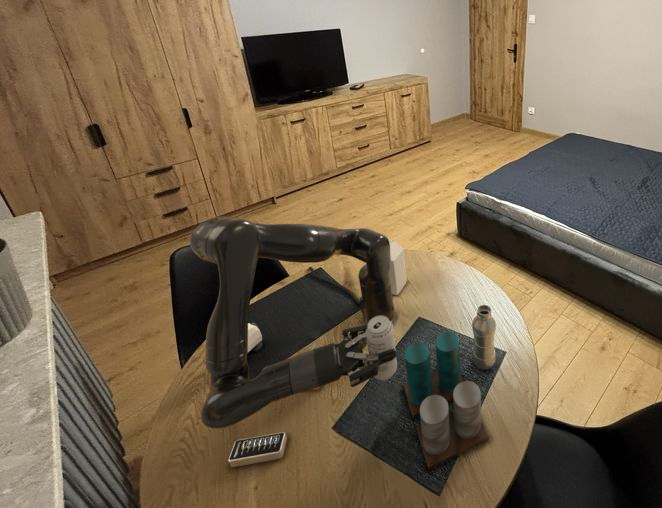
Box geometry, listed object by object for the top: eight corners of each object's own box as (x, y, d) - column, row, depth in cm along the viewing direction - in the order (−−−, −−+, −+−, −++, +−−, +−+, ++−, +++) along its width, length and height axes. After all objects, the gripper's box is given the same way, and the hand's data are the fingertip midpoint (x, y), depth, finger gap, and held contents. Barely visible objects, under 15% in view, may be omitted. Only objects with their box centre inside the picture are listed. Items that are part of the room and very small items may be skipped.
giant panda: (254, 337, 114) (247, 313, 110) (267, 342, 112) (260, 319, 108) (208, 377, 102) (198, 353, 98) (221, 385, 100) (211, 360, 96)
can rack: (413, 418, 91) (408, 373, 85) (403, 387, 99) (398, 343, 92) (467, 394, 97) (467, 350, 90) (454, 365, 104) (453, 323, 98)
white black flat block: (282, 458, 84) (279, 452, 83) (230, 467, 82) (227, 461, 81) (287, 437, 88) (285, 431, 87) (238, 446, 86) (235, 440, 85)
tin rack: (428, 470, 81) (425, 436, 76) (416, 430, 89) (413, 397, 84) (488, 439, 87) (489, 405, 82) (472, 404, 94) (472, 371, 89)
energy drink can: (402, 367, 88) (398, 320, 83) (384, 387, 84) (378, 339, 78) (384, 355, 91) (378, 309, 86) (366, 374, 87) (359, 327, 81)
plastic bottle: (494, 375, 102) (495, 321, 94) (470, 370, 103) (469, 317, 95) (497, 354, 107) (498, 302, 100) (474, 351, 109) (474, 299, 101)
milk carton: (406, 282, 136) (402, 239, 128) (397, 295, 130) (392, 251, 122) (389, 278, 138) (384, 236, 131) (379, 291, 132) (374, 247, 124)
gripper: (314, 385, 71) (398, 354, 78) (310, 330, 84) (384, 307, 90) (320, 410, 74) (401, 378, 81) (315, 353, 86) (386, 330, 93)
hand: (391, 341), depth 85 cm, fingers closed on energy drink can, 6 cm apart
